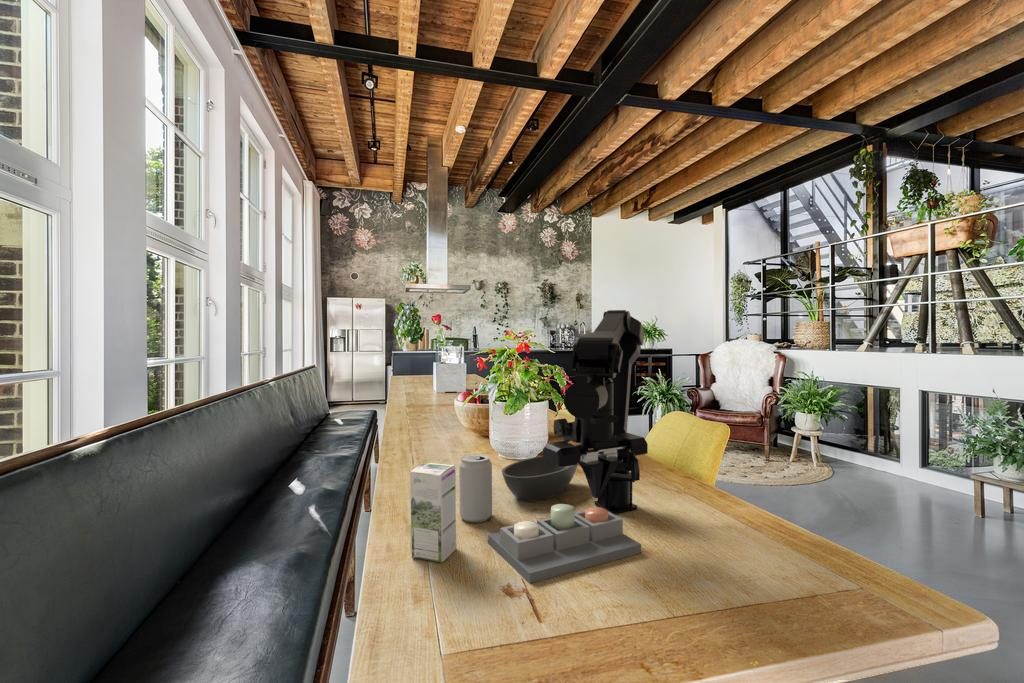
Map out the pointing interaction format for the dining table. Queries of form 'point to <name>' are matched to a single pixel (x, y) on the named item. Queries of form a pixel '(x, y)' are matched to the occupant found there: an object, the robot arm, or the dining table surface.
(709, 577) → the dining table surface
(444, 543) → the syrup box
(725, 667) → the dining table surface
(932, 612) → the dining table surface
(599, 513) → the rust button
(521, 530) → the cream button
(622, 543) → the panel
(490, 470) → the beverage can
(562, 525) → the sage button
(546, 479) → the bowl
